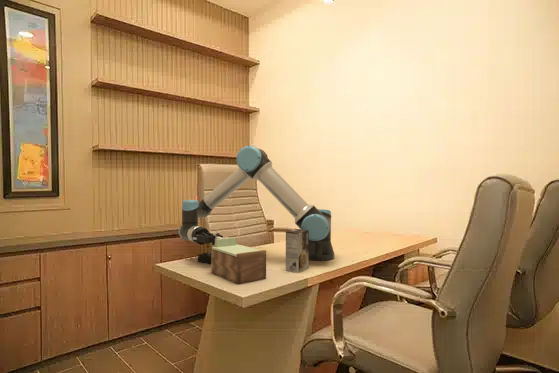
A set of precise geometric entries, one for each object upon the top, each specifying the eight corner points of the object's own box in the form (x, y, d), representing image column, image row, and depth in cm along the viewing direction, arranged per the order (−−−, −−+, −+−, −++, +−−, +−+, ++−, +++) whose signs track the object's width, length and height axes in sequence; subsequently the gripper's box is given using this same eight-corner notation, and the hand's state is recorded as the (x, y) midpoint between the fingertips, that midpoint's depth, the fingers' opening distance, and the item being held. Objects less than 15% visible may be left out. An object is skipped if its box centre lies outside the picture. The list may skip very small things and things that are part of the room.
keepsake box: (266, 278, 128) (266, 250, 128) (238, 284, 120) (238, 254, 120) (237, 268, 144) (237, 243, 144) (211, 272, 136) (211, 246, 136)
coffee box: (295, 266, 148) (295, 228, 148) (308, 268, 145) (309, 229, 145) (284, 270, 141) (285, 230, 140) (298, 272, 137) (299, 232, 137)
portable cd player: (222, 257, 168) (222, 248, 168) (250, 261, 159) (250, 252, 159) (197, 263, 154) (197, 254, 154) (226, 268, 145) (226, 259, 145)
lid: (263, 253, 129) (263, 242, 129) (236, 256, 122) (236, 246, 122) (237, 246, 143) (237, 236, 143) (212, 249, 136) (212, 239, 136)
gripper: (211, 241, 162) (238, 249, 144) (185, 244, 154) (209, 253, 136) (211, 225, 162) (238, 231, 144) (185, 227, 154) (210, 234, 136)
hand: (224, 242), depth 140 cm, fingers closed
